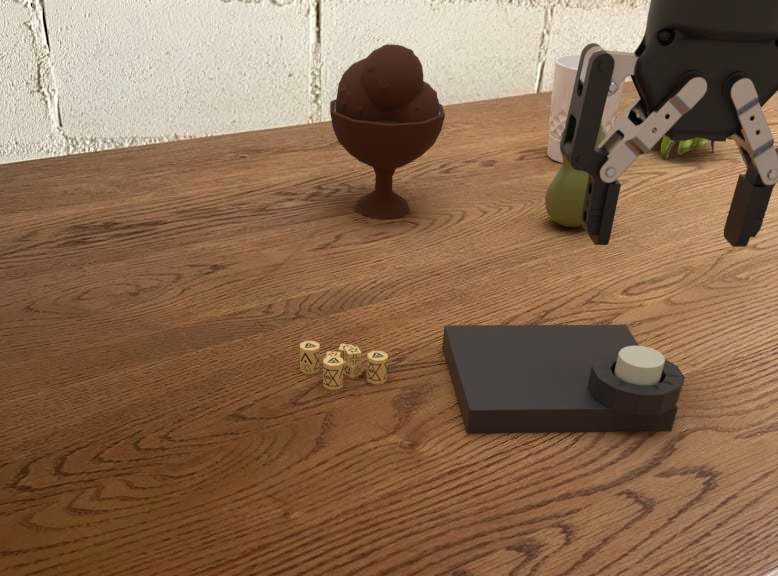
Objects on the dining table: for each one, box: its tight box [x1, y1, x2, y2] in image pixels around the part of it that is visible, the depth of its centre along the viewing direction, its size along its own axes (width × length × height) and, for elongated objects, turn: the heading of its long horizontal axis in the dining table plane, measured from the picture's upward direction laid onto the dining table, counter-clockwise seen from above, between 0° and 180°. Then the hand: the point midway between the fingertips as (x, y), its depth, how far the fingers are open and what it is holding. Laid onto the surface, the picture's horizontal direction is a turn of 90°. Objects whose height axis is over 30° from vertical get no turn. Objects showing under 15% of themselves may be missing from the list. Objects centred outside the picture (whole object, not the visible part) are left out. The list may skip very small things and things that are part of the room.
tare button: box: [614, 345, 666, 386], centre depth 61 cm, size 3×3×2 cm
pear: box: [544, 121, 606, 228], centre depth 88 cm, size 6×5×10 cm
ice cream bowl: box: [329, 43, 446, 220], centre depth 88 cm, size 11×11×15 cm
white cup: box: [546, 53, 626, 164], centre depth 104 cm, size 8×8×10 cm
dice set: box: [299, 340, 389, 391], centre depth 66 cm, size 5×5×2 cm
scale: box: [442, 324, 686, 435], centre depth 65 cm, size 14×13×4 cm
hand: (666, 241), depth 56 cm, fingers open, 8 cm apart
